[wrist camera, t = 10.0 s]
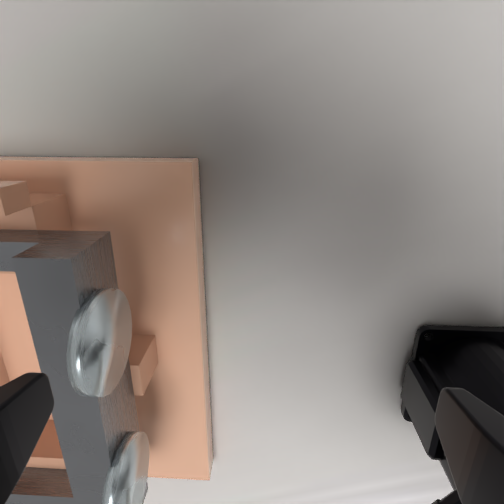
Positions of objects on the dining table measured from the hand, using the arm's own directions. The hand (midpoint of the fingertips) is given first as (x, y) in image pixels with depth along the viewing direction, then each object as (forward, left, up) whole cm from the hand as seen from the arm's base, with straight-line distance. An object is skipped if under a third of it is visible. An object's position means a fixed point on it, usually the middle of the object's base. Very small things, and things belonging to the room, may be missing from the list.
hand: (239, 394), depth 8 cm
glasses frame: (+11, +6, -7) cm, 14 cm away
